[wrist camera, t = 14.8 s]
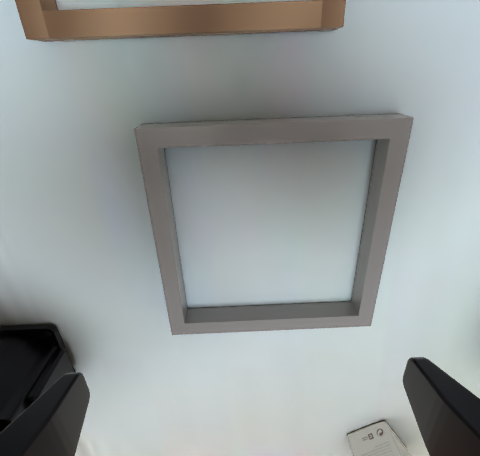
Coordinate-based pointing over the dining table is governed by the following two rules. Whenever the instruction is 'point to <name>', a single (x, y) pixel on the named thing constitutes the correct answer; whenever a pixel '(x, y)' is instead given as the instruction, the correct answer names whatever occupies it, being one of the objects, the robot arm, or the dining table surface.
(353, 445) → the skincare box
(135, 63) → the dining table surface
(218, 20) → the frame
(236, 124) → the gray square frame
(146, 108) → the dining table surface
